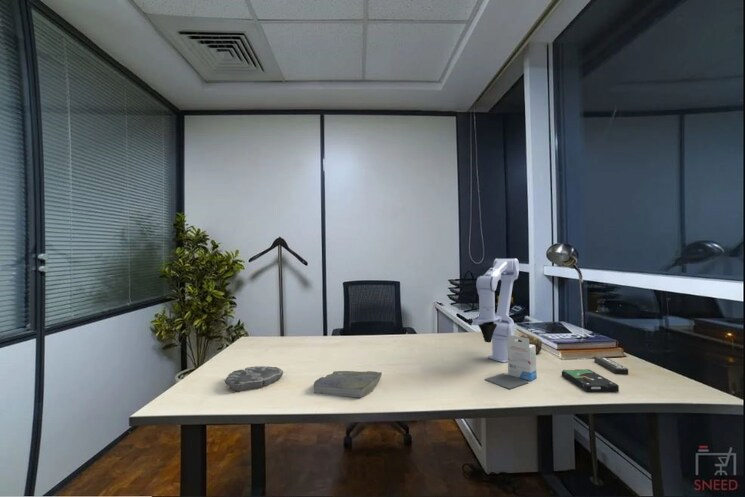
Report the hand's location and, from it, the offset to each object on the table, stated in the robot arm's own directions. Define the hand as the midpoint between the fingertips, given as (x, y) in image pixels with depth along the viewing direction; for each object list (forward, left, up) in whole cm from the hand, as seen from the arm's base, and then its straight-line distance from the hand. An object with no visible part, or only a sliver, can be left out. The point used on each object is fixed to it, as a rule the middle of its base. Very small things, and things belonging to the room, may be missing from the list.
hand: (487, 341), depth 126 cm
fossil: (+54, -15, -11) cm, 57 cm away
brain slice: (+81, -37, -11) cm, 89 cm away
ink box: (-3, +12, -11) cm, 16 cm away
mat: (+6, +12, -10) cm, 17 cm away
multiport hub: (-40, +25, -11) cm, 48 cm away
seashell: (-34, -5, -11) cm, 36 cm away
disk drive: (-16, +28, -11) cm, 34 cm away
